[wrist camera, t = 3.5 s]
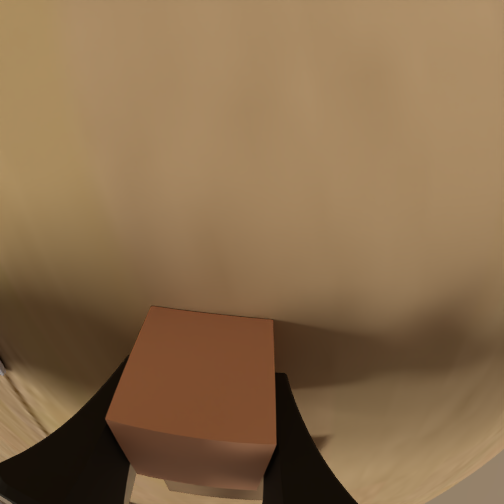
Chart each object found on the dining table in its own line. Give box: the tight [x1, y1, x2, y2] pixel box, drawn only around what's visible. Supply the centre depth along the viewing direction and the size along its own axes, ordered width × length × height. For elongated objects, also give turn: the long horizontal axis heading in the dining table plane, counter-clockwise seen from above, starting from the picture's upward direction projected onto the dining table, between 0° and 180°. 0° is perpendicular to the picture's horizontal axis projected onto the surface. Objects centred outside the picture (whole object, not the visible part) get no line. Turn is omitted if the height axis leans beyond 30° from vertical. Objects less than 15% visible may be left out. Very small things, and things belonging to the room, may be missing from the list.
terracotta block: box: [105, 306, 276, 491], centre depth 10 cm, size 4×4×5 cm
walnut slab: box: [164, 477, 263, 500], centre depth 17 cm, size 8×8×2 cm
